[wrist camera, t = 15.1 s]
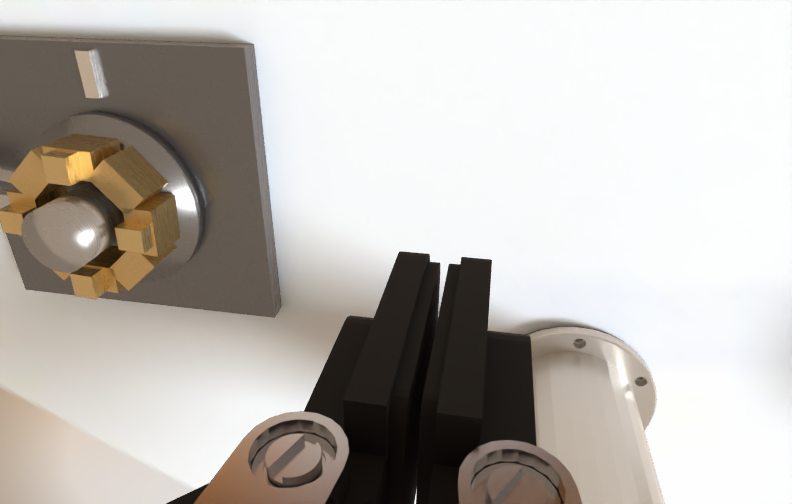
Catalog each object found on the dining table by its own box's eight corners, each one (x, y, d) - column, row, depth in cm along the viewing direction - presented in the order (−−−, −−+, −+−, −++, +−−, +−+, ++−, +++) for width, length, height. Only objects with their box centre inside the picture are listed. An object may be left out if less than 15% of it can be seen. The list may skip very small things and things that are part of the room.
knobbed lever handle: (170, 143, 37) (130, 165, 33) (188, 277, 42) (155, 310, 38) (-98, 110, 40) (-164, 127, 36) (-52, 240, 45) (-106, 267, 41)
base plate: (281, 307, 45) (236, 375, 38) (38, 280, 49) (-46, 338, 41) (253, 44, 36) (187, 67, 28) (-44, 34, 39) (-173, 52, 32)
